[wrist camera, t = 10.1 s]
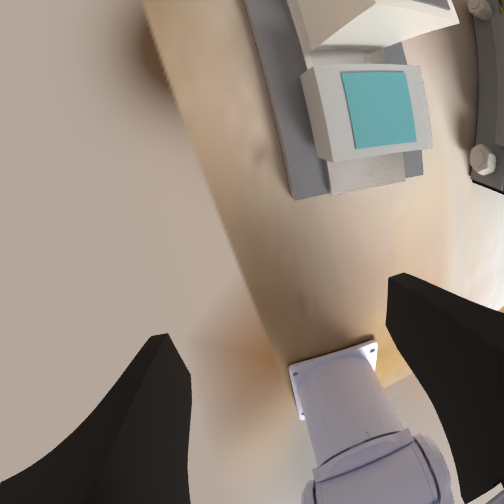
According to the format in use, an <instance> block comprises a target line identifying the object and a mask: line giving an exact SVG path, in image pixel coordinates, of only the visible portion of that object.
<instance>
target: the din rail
mask: <svg viewBox="0 0 504 504" xmlns="http://www.w3.org/2000/svg"><path fill="white" fill-rule="evenodd" d="M283 1H284V4H285V7H286V10H287V13H288V16H289V19H290V23H291V26H292V29H293V33H294V36H295V39H296V43H297V46H298V50H299V53H300V57H301V61H302V65H303V68H304V72H306V71H307V70H308V69H310V68H311V67H313V66H323V65H340V64H387V61H386V58H385V54H384V50H383V49H380V50H378V51H369V50H327V51H312V49H311V45H310V41H309V38H308V34H307V31H306V27H305V24H304V21H303V17H302V14H301V11H300V8H299V5H298V2H297V0H283ZM323 162H324V168H325V174H326V180H327V186H328V193H329V194H331V195H337V194H342V193H347V192H351V191H356V190H361V189H366V188H371V187H376V186H381V185H386V184H391V183H397V182H402V181H405V170H404V159H403V152H399V153H391V154H384V155H377V156H371V157H364V158H358V159H352V160H346V161H340V162H335V163H333V162H330V161H327V160H324V159H323Z"/></svg>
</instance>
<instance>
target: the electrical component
mask: <svg viewBox="0 0 504 504" xmlns="http://www.w3.org/2000/svg"><path fill="white" fill-rule="evenodd" d="M467 7H468V10H469V12H471V13H472V14H473V21H474V27H475V35H476V44H477V57H478V79H479V98H478V121H477V134H476V144H475V147H473V148H472V149H471V153H470V164H471V166H472V173H471V178H470V179H473V181H472V182H473V183H476V184H478V185H481V186H483V187H486V188H489V189H491V190H494V191H496V192H498V193H501V194H503V195H504V0H468V1H467Z"/></svg>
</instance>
